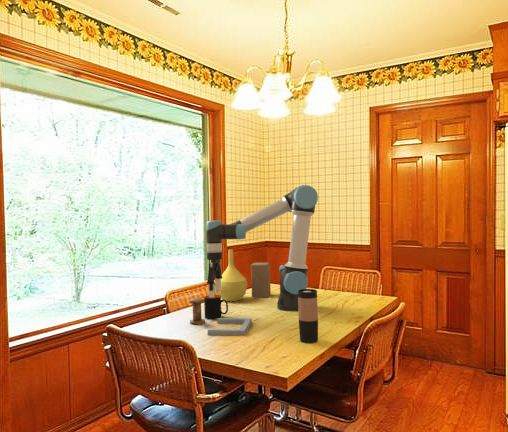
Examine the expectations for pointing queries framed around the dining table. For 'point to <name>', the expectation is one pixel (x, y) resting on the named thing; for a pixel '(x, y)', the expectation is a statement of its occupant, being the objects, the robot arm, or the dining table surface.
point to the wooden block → (260, 280)
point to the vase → (232, 282)
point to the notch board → (242, 331)
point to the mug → (213, 307)
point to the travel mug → (308, 315)
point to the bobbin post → (197, 311)
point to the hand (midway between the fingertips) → (215, 294)
